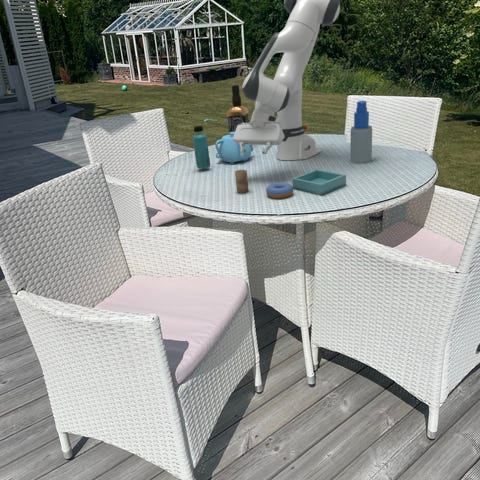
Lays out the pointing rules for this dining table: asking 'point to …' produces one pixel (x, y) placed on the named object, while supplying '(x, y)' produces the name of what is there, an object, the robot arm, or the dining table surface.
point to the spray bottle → (361, 136)
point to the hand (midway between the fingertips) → (253, 153)
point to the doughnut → (279, 190)
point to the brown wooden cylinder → (241, 181)
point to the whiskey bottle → (237, 111)
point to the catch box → (319, 182)
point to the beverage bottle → (201, 148)
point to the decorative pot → (231, 150)
